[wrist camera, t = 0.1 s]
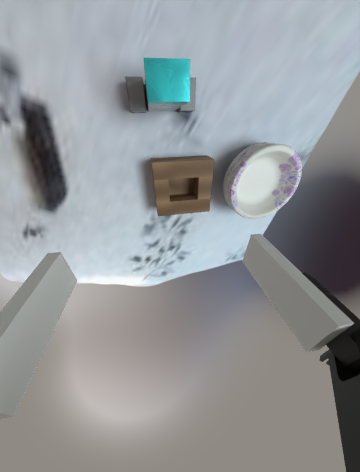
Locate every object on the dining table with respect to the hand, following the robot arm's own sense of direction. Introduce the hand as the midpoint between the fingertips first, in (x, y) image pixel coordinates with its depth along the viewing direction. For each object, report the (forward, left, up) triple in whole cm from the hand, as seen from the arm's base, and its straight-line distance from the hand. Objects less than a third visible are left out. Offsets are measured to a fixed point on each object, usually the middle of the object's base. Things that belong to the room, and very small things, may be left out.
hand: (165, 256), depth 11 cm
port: (+3, +6, -28) cm, 29 cm away
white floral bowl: (+3, +23, -28) cm, 36 cm away
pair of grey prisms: (-12, +3, -28) cm, 30 cm away
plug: (-12, +3, -28) cm, 30 cm away
